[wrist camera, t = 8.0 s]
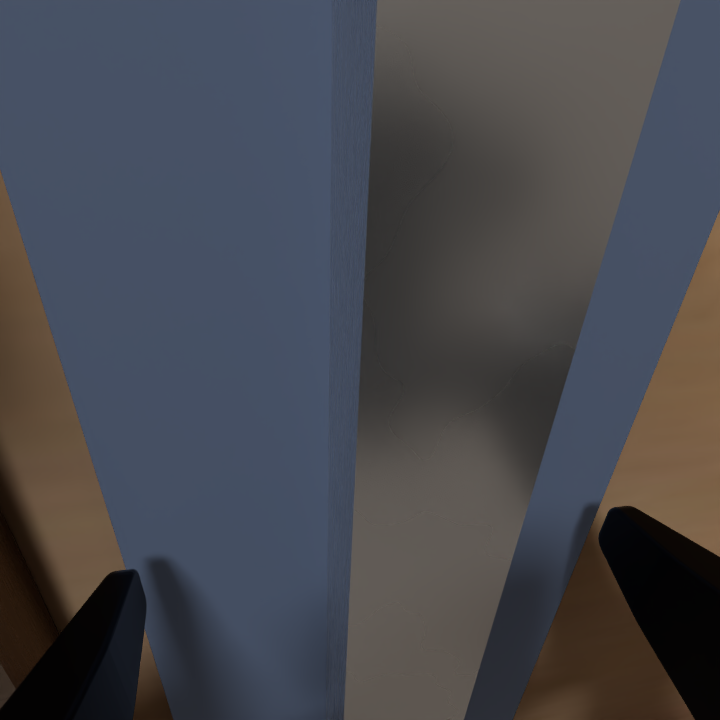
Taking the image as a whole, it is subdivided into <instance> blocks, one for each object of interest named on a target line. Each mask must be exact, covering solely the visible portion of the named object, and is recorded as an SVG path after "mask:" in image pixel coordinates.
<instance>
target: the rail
mask: <svg viewBox="0 0 720 720" xmlns="http://www.w3.org/2000/svg"><path fill="white" fill-rule="evenodd" d="M680 1H681V0H332V88H331V203H330V318H329V434H328V549H327V664H326V720H464V717H465V714H466V711H467V707H468V704H469V701H470V697H471V694H472V691H473V688H474V684H475V681H476V678H477V674H478V671H479V668H480V664H481V661H482V658H483V654H484V651H485V648H486V644H487V641H488V638H489V634H490V631H491V628H492V624H493V621H494V618H495V615H496V611H497V608H498V605H499V601H500V598H501V595H502V591H503V588H504V585H505V581H506V578H507V575H508V571H509V568H510V565H511V561H512V558H513V555H514V551H515V548H516V545H517V542H518V538H519V535H520V532H521V528H522V525H523V522H524V518H525V515H526V512H527V508H528V505H529V502H530V498H531V495H532V492H533V488H534V485H535V482H536V478H537V475H538V472H539V468H540V465H541V462H542V459H543V455H544V452H545V449H546V445H547V442H548V439H549V435H550V432H551V429H552V425H553V422H554V419H555V415H556V412H557V409H558V405H559V402H560V399H561V395H562V392H563V389H564V386H565V382H566V379H567V376H568V372H569V369H570V366H571V362H572V359H573V356H574V352H575V349H576V346H577V342H578V339H579V336H580V332H581V329H582V326H583V322H584V319H585V316H586V313H587V309H588V306H589V303H590V299H591V296H592V293H593V289H594V286H595V283H596V279H597V276H598V273H599V269H600V266H601V263H602V259H603V256H604V253H605V249H606V246H607V243H608V239H609V236H610V233H611V230H612V226H613V223H614V220H615V216H616V213H617V210H618V206H619V203H620V200H621V196H622V193H623V190H624V186H625V183H626V180H627V176H628V173H629V170H630V166H631V163H632V160H633V157H634V153H635V150H636V147H637V143H638V140H639V137H640V133H641V130H642V127H643V123H644V120H645V117H646V113H647V110H648V107H649V103H650V100H651V97H652V93H653V90H654V87H655V84H656V80H657V77H658V74H659V70H660V67H661V64H662V60H663V57H664V54H665V50H666V47H667V44H668V40H669V37H670V34H671V30H672V27H673V24H674V20H675V17H676V14H677V11H678V7H679V4H680Z"/></svg>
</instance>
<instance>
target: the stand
mask: <svg viewBox="0 0 720 720" xmlns="http://www.w3.org/2000/svg"><path fill="white" fill-rule="evenodd" d="M58 636H59V633H58V631H57V629H56V627H55V625H54V623H53V620H52V618H51V616H50V614H49V612H48V610H47V608H46V606H45V604H44V601H43V599H42V597H41V595H40V593H39V591H38V589H37V587H36V584H35V582H34V580H33V578H32V576H31V574H30V572H29V570H28V568H27V565H26V563H25V561H24V559H23V557H22V555H21V553H20V551H19V548H18V546H17V544H16V542H15V540H14V538H13V536H12V534H11V532H10V529H9V527H8V525H7V523H6V521H5V519H4V517H3V515H2V512H1V510H0V708H1V707H2V706H3V705H4V703H5V702H6V701H7V700H8V698H9V697H10V696H11V695H12V693H13V692H14V691H15V690H16V688H17V687H18V686H19V685H20V683H21V682H22V681H23V680H24V678H25V677H26V676H27V675H28V673H29V672H30V671H31V670H32V668H33V667H34V666H35V665H36V663H37V662H38V661H39V660H40V658H41V657H42V656H43V655H44V653H45V652H46V651H47V650H48V648H49V647H50V646H51V645H52V643H53V642H54V641H55V640H56V638H57V637H58Z"/></svg>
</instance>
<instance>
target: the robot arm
mask: <svg viewBox="0 0 720 720" xmlns="http://www.w3.org/2000/svg"><path fill="white" fill-rule="evenodd" d="M598 539H599V544H600V547H601V550H602V552H603V554H604V556H605V558H606V560H607V562H608V564H609V566H610V568H611V570H612V572H613V574H614V576H615V578H616V580H617V583H618V585H619V587H620V589H621V591H622V593H623V595H624V597H625V599H626V601H627V603H628V605H629V607H630V609H631V611H632V613H633V615H634V617H635V619H636V621H637V623H638V625H639V626H640V628H641V630H642V632H643V633H644V635H645V637H646V638H647V640H648V642H649V643H650V645H651V647H652V648H653V650H654V652H655V653H656V655H657V657H658V659H659V660H660V662H661V664H662V665H663V667H664V669H665V670H666V672H667V674H668V675H669V677H670V679H671V680H672V682H673V684H674V685H675V687H676V689H677V690H678V692H679V694H680V695H681V697H682V699H683V700H684V702H685V704H686V705H687V707H688V709H689V710H690V712H691V714H692V715H693V717H694V719H695V720H720V557H719V556H717V555H715V554H714V553H712V552H710V551H709V550H707V549H705V548H703V547H702V546H700V545H698V544H697V543H695V542H693V541H691V540H690V539H688V538H686V537H685V536H683V535H681V534H679V533H678V532H676V531H674V530H673V529H671V528H669V527H667V526H666V525H664V524H662V523H661V522H659V521H657V520H655V519H654V518H652V517H650V516H649V515H647V514H645V513H643V512H642V511H640V510H638V509H636V508H635V507H632V506H622V507H614V508H612V509H610V510H609V512H608V514H607V516H606V518H605V521H604V523H603V526H602V528H601V530H600V533H599V538H598ZM146 611H147V602H146V596H145V593H144V590H143V586H142V583H141V580H140V576H139V573H138V571H137V570H135V569H128V570H120V571H114V572H111V573H110V574H108V575H107V576H106V577H105V578H104V580H103V581H102V582H101V583H100V585H99V586H98V587H97V588H96V590H95V591H94V592H93V593H92V595H91V596H90V597H89V598H88V600H87V601H86V602H85V603H84V605H83V606H82V607H81V608H80V610H79V611H78V612H77V613H76V615H75V616H74V617H73V618H72V620H71V621H70V622H69V623H68V625H67V626H66V627H65V628H64V630H63V631H62V632H61V633H60V635H59V636H58V637H57V638H56V640H55V641H54V642H53V643H52V645H51V646H50V647H49V648H48V650H47V651H46V652H45V653H44V655H43V656H42V657H41V658H40V660H39V661H38V662H37V663H36V665H35V666H34V667H33V668H32V670H31V671H30V672H29V673H28V675H27V676H26V677H25V678H24V680H23V681H22V682H21V683H20V685H19V686H18V687H17V688H16V690H15V691H14V692H13V693H12V695H11V696H10V697H9V698H8V700H7V701H6V702H5V703H4V705H3V706H2V707H1V708H0V720H132V719H133V714H134V707H135V700H136V693H137V685H138V677H139V668H140V660H141V652H142V644H143V636H144V628H145V620H146Z"/></svg>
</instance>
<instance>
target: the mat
mask: <svg viewBox="0 0 720 720" xmlns="http://www.w3.org/2000/svg"><path fill="white" fill-rule="evenodd" d="M331 88H332V0H0V170H1V173H2V176H3V179H4V182H5V186H6V189H7V192H8V195H9V198H10V201H11V205H12V208H13V211H14V214H15V217H16V221H17V224H18V227H19V230H20V233H21V236H22V240H23V243H24V246H25V249H26V252H27V255H28V259H29V262H30V265H31V268H32V271H33V275H34V278H35V281H36V284H37V287H38V290H39V294H40V297H41V300H42V303H43V306H44V310H45V313H46V316H47V319H48V322H49V325H50V329H51V332H52V335H53V338H54V341H55V344H56V348H57V351H58V354H59V357H60V360H61V364H62V367H63V370H64V373H65V376H66V379H67V383H68V386H69V389H70V392H71V395H72V399H73V402H74V405H75V408H76V411H77V414H78V418H79V421H80V424H81V427H82V430H83V434H84V437H85V440H86V443H87V446H88V449H89V453H90V456H91V459H92V462H93V465H94V468H95V472H96V475H97V478H98V481H99V484H100V488H101V491H102V494H103V497H104V500H105V503H106V507H107V510H108V513H109V516H110V519H111V523H112V526H113V529H114V532H115V535H116V538H117V542H118V545H119V548H120V551H121V554H122V557H123V561H124V564H125V567H126V570H128V569H135V570H137V571H138V573H139V576H140V580H141V583H142V586H143V590H144V593H145V596H146V602H147V611H146V620H145V631H146V634H147V637H148V640H149V643H150V647H151V650H152V653H153V656H154V659H155V662H156V666H157V669H158V672H159V675H160V678H161V681H162V685H163V688H164V691H165V694H166V697H167V701H168V704H169V707H170V710H171V713H172V716H173V720H326V664H327V549H328V434H329V318H330V203H331ZM719 210H720V0H681V1H680V4H679V7H678V11H677V14H676V17H675V20H674V24H673V27H672V30H671V34H670V37H669V40H668V44H667V47H666V50H665V54H664V57H663V60H662V64H661V67H660V70H659V74H658V77H657V80H656V84H655V87H654V90H653V93H652V97H651V100H650V103H649V107H648V110H647V113H646V117H645V120H644V123H643V127H642V130H641V133H640V137H639V140H638V143H637V147H636V150H635V153H634V157H633V160H632V163H631V166H630V170H629V173H628V176H627V180H626V183H625V186H624V190H623V193H622V196H621V200H620V203H619V206H618V210H617V213H616V216H615V220H614V223H613V226H612V230H611V233H610V236H609V239H608V243H607V246H606V249H605V253H604V256H603V259H602V263H601V266H600V269H599V273H598V276H597V279H596V283H595V286H594V289H593V293H592V296H591V299H590V303H589V306H588V309H587V313H586V316H585V319H584V322H583V326H582V329H581V332H580V336H579V339H578V342H577V346H576V349H575V352H574V356H573V359H572V362H571V366H570V369H569V372H568V376H567V379H566V382H565V386H564V389H563V392H562V395H561V399H560V402H559V405H558V409H557V412H556V415H555V419H554V422H553V425H552V429H551V432H550V435H549V439H548V442H547V445H546V449H545V452H544V455H543V459H542V462H541V465H540V468H539V472H538V475H537V478H536V482H535V485H534V488H533V492H532V495H531V498H530V502H529V505H528V508H527V512H526V515H525V518H524V522H523V525H522V528H521V532H520V535H519V538H518V542H517V545H516V548H515V551H514V555H513V558H512V561H511V565H510V568H509V571H508V575H507V578H506V581H505V585H504V588H503V591H502V595H501V598H500V601H499V605H498V608H497V611H496V615H495V618H494V621H493V624H492V628H491V631H490V634H489V638H488V641H487V644H486V648H485V651H484V654H483V658H482V661H481V664H480V668H479V671H478V674H477V678H476V681H475V684H474V688H473V691H472V694H471V697H470V701H469V704H468V707H467V711H466V714H465V717H464V720H513V718H514V715H515V713H516V710H517V708H518V705H519V703H520V700H521V698H522V696H523V693H524V691H525V688H526V686H527V683H528V681H529V678H530V676H531V673H532V671H533V668H534V666H535V663H536V661H537V659H538V656H539V654H540V651H541V649H542V646H543V644H544V641H545V639H546V636H547V634H548V631H549V629H550V627H551V624H552V622H553V619H554V617H555V614H556V612H557V609H558V607H559V604H560V602H561V599H562V597H563V594H564V592H565V590H566V587H567V585H568V582H569V580H570V577H571V575H572V572H573V570H574V567H575V565H576V562H577V560H578V557H579V555H580V553H581V550H582V548H583V545H584V543H585V540H586V538H587V535H588V533H589V530H590V528H591V525H592V523H593V521H594V518H595V516H596V513H597V511H598V508H599V506H600V503H601V501H602V498H603V496H604V493H605V491H606V488H607V486H608V484H609V481H610V479H611V476H612V474H613V471H614V469H615V466H616V464H617V461H618V459H619V456H620V454H621V451H622V449H623V447H624V444H625V442H626V439H627V437H628V434H629V432H630V429H631V427H632V424H633V422H634V419H635V417H636V414H637V412H638V410H639V407H640V405H641V402H642V400H643V397H644V395H645V392H646V390H647V387H648V385H649V382H650V380H651V378H652V375H653V373H654V370H655V368H656V365H657V363H658V360H659V358H660V355H661V353H662V350H663V348H664V345H665V343H666V341H667V338H668V336H669V333H670V331H671V328H672V326H673V323H674V321H675V318H676V316H677V313H678V311H679V308H680V306H681V304H682V301H683V299H684V296H685V294H686V291H687V289H688V286H689V284H690V281H691V279H692V276H693V274H694V272H695V269H696V267H697V264H698V262H699V259H700V257H701V254H702V252H703V249H704V247H705V244H706V242H707V239H708V237H709V235H710V232H711V230H712V227H713V225H714V222H715V220H716V217H717V215H718V212H719Z"/></svg>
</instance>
